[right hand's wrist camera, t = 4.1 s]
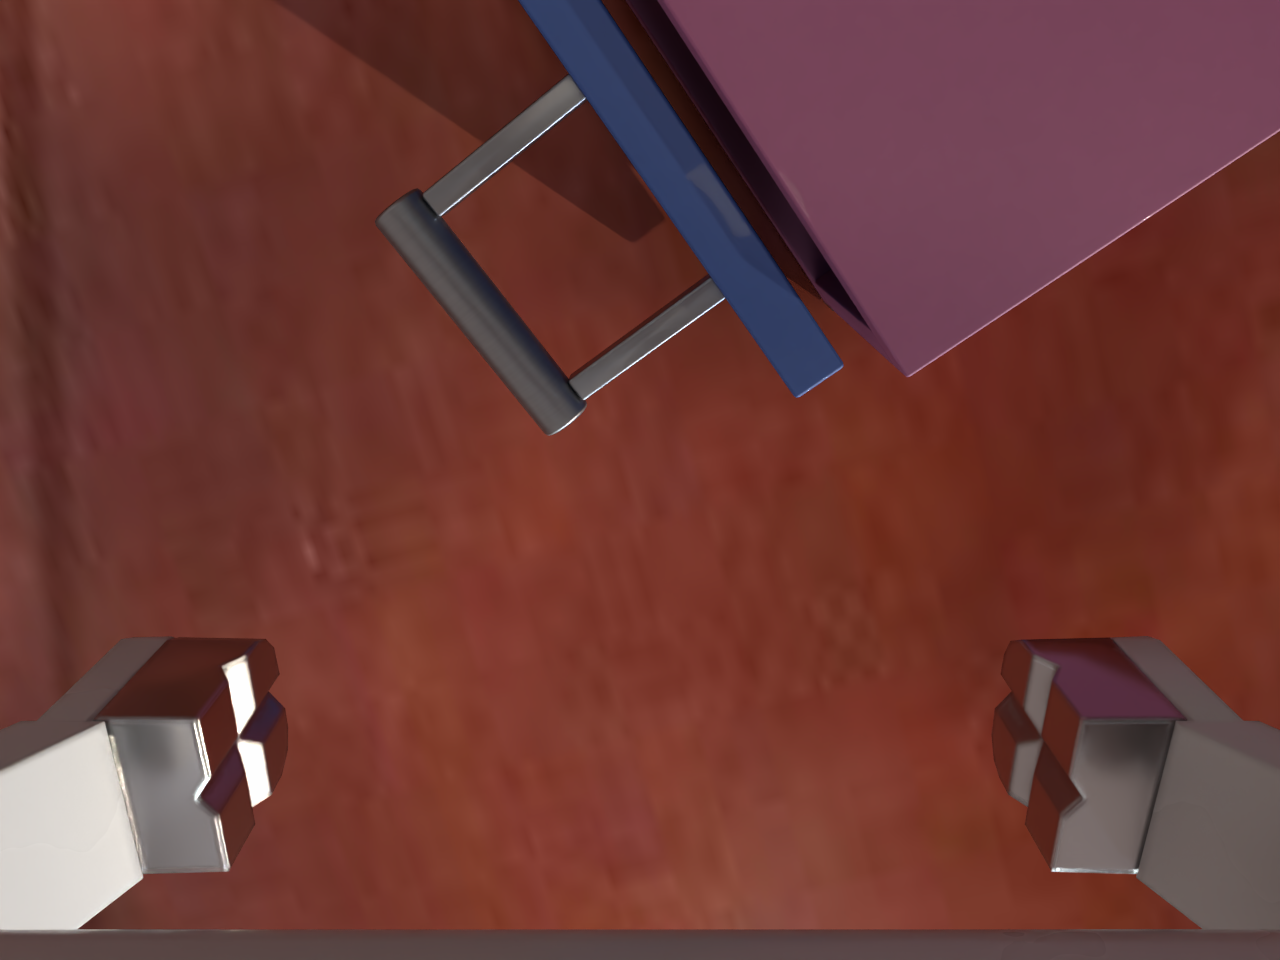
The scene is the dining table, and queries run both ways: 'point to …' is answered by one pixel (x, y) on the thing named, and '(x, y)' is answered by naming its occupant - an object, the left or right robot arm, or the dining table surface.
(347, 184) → the dining table surface
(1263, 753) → the right robot arm
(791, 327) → the drawer
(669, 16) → the cabinet
